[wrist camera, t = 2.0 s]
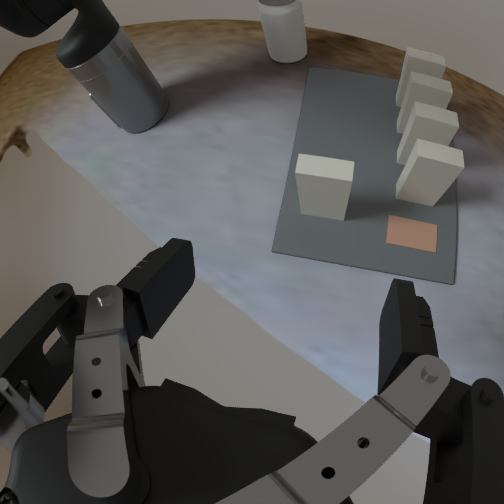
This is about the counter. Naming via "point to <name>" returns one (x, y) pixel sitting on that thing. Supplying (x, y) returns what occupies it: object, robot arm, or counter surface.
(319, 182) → the domino
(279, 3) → the can
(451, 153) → the domino
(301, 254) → the slate mat
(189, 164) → the counter surface
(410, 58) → the domino
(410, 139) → the domino
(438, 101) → the domino
